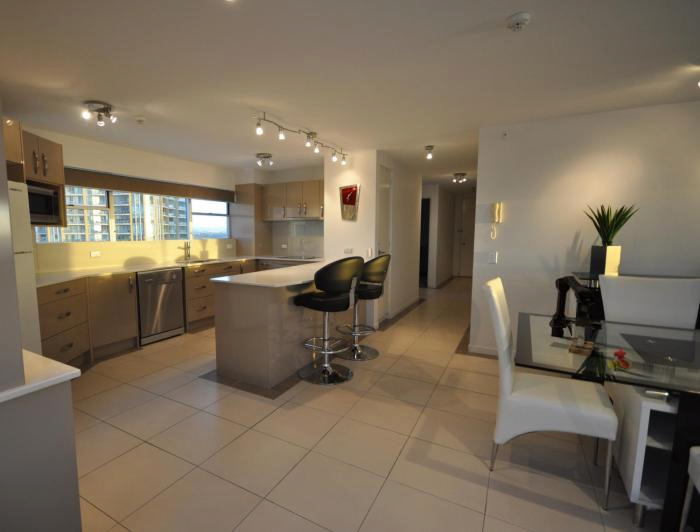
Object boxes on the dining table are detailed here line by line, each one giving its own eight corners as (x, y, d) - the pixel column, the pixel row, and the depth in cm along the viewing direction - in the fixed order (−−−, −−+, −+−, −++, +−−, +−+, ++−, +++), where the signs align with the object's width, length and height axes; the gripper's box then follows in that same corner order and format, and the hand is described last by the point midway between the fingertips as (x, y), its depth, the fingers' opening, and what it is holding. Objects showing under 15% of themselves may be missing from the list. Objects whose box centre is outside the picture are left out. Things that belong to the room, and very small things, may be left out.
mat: (549, 346, 205) (549, 346, 205) (553, 342, 212) (553, 341, 212) (566, 349, 199) (567, 349, 199) (569, 345, 206) (570, 344, 206)
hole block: (568, 352, 194) (568, 347, 194) (574, 343, 209) (574, 339, 208) (589, 356, 187) (589, 351, 187) (593, 347, 202) (594, 342, 202)
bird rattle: (627, 374, 170) (607, 362, 176) (640, 357, 165) (619, 345, 171) (624, 377, 166) (604, 365, 172) (637, 360, 161) (616, 348, 167)
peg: (576, 352, 194) (577, 335, 193) (577, 351, 196) (578, 334, 195) (582, 353, 192) (583, 336, 191) (583, 352, 194) (584, 335, 193)
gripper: (560, 311, 192) (559, 338, 193) (601, 316, 179) (599, 345, 181) (564, 308, 200) (563, 333, 202) (603, 312, 188) (601, 339, 189)
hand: (581, 337), depth 193 cm, fingers open, 9 cm apart
